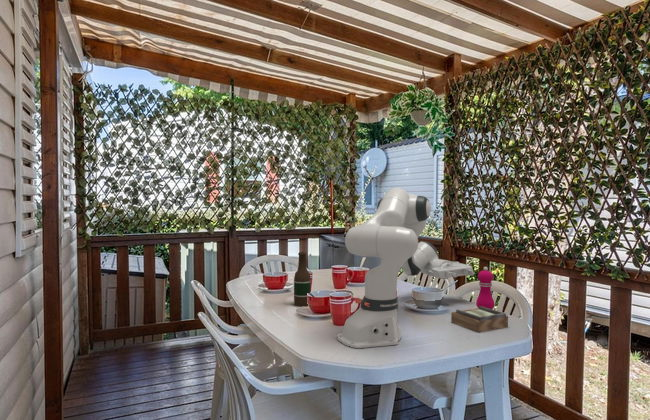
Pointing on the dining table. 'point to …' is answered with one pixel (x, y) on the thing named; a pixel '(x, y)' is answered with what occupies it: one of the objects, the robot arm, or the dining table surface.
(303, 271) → the beer bottle
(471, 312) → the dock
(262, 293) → the dining table surface
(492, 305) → the pepper mill
